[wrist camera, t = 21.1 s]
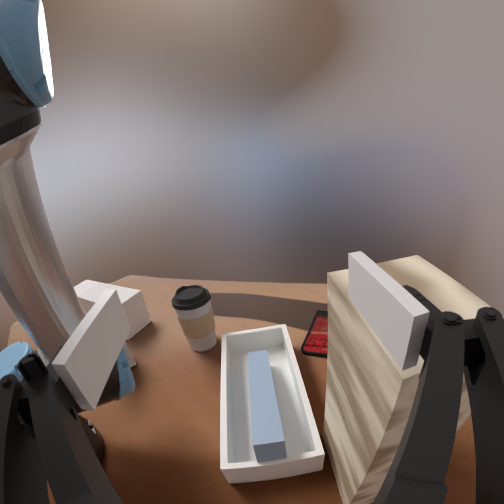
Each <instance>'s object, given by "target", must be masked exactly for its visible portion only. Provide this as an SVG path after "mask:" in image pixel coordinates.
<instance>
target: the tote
mask: <svg viewBox="0 0 504 504" xmlns="http://www.w3.org/2000/svg"><path fill="white" fill-rule="evenodd" d="M262 350H267V352H268V358H269V363H270V368H271V373H272V378H273V384H274V389H275V394H276V399H277V404H278V409H279V414H280V419H281V425H282V430H283V435H284V440H285V447H286V454H287V458H286V459H279V460H273V461H266V462H258V463H257V460H256V456H255V452H254V448H253V442H252V426H251V409H250V392H249V374H248V355H247V353H249V352H256V351H262ZM324 456H325V453H324V450H323V446H322V443H321V440H320V436H319V433H318V429H317V426H316V423H315V419H314V416H313V413H312V409H311V406H310V403H309V399H308V396H307V393H306V389H305V386H304V383H303V380H302V376H301V373H300V370H299V366H298V363H297V360H296V357H295V353H294V350H293V347H292V344H291V340H290V337H289V334H288V331H287V328H286V324H282V325H277V326H271V327H265V328H259V329H252V330H246V331H239V332H232V333H224V334H222V350H221V403H220V469H221V471H222V473H223V474H224V476H225V478H226V479H227V481H228V482H229V484H232V483H246V482H256V481H264V480H272V479H279V478H285V477H291V476H297V475H302V474H307V473H311V472H316V471H320V470H323V463H324Z"/></svg>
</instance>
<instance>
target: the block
mask: <svg viewBox="0 0 504 504" xmlns="http://www.w3.org/2000/svg"><path fill="white" fill-rule="evenodd" d="M247 355H248V374H249V392H250V409H251V426H252V442H253V448H254V452H255V456H256V460H257V463H258V462H266V461H273V460H279V459H286V458H287V454H286V447H285V440H284V435H283V430H282V425H281V419H280V414H279V409H278V404H277V399H276V394H275V389H274V384H273V378H272V373H271V368H270V363H269V358H268V352H267V350H262V351H256V352H249V353H247Z"/></svg>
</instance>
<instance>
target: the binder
mask: <svg viewBox="0 0 504 504" xmlns="http://www.w3.org/2000/svg"><path fill="white" fill-rule="evenodd" d="M301 350H302V353H303V354H305V355H314V356H328V311H320V310H317V312H316V315H315V317H314V319H313V322H312V324H311V326H310V329H309V331H308V333H307V335H306V338H305V340H304V342H303V344H302V347H301Z"/></svg>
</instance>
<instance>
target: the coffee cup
mask: <svg viewBox="0 0 504 504" xmlns="http://www.w3.org/2000/svg"><path fill="white" fill-rule="evenodd" d="M210 298H211V296H210V294H209V291H208V290H207V289H205V288H203V287H202V286H199V285H192V286H182V287H180V288H179V289H177V291H176V294H175V296H174V297H173V299H172V306H173V307H174V308H175V311H176V315H177V317H178V320H179V322H180V325H181V327H182V329H183V332H184V334H185V336H186V338H187V340H188V342H189V345H190V347H191V349H193V350H194V351H199V352H201V351H206V350H209V349H211V348H212V347H214V346H215V344H216V342H217V339H216V333H215V323H214V316H213V310H212V305H211V302H210Z"/></svg>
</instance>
